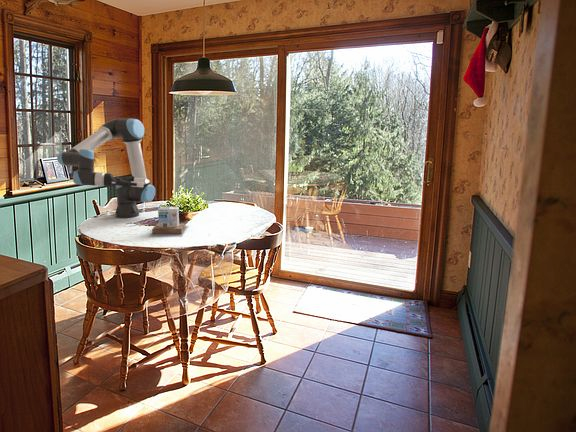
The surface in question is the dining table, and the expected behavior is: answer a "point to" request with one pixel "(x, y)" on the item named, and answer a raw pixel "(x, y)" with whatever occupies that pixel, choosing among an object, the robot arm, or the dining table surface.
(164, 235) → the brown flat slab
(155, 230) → the walnut plinth
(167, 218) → the light bulb box
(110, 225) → the dining table surface
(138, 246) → the dining table surface
